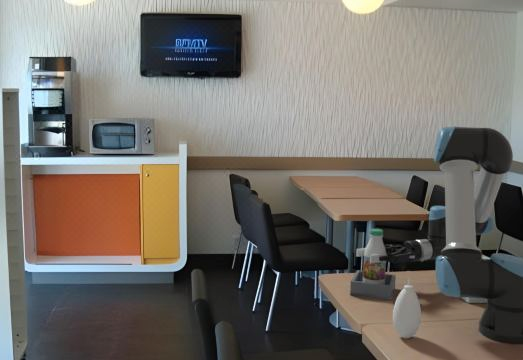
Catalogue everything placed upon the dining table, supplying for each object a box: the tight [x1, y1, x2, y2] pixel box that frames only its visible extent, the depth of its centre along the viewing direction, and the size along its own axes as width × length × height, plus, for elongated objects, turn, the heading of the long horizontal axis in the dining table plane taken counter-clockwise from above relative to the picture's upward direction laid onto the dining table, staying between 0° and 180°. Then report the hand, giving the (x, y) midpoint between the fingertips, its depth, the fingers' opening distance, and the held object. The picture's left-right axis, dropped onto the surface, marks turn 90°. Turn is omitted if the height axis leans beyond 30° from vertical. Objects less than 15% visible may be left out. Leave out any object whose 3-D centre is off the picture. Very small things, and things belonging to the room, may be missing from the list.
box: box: [349, 269, 397, 301], centre depth 209 cm, size 14×14×5 cm
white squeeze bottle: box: [392, 276, 422, 339], centre depth 169 cm, size 8×8×18 cm
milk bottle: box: [362, 228, 387, 284], centre depth 208 cm, size 8×8×20 cm
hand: (363, 255), depth 206 cm, fingers closed on milk bottle, 8 cm apart
